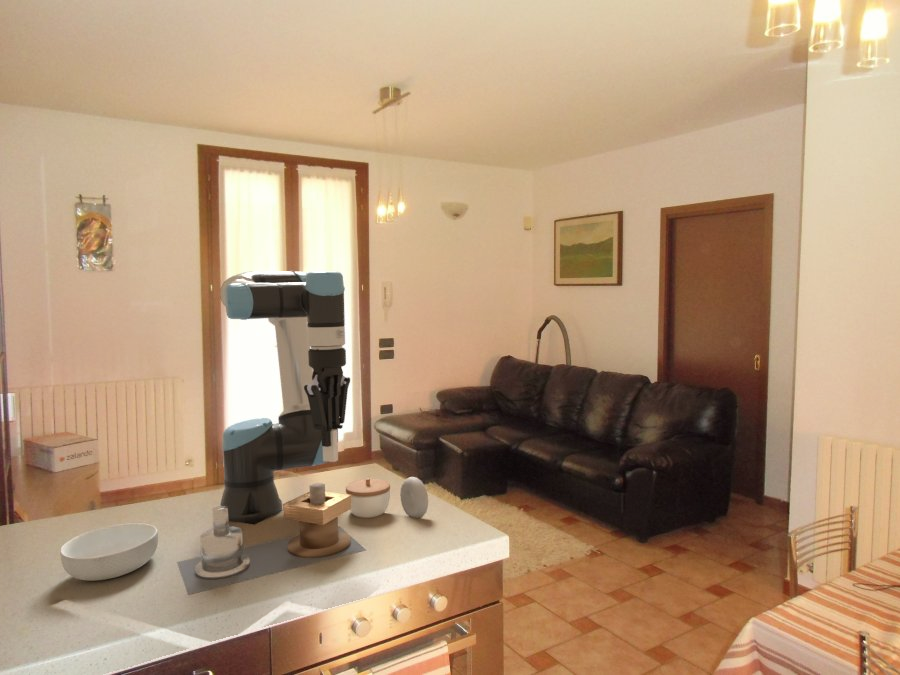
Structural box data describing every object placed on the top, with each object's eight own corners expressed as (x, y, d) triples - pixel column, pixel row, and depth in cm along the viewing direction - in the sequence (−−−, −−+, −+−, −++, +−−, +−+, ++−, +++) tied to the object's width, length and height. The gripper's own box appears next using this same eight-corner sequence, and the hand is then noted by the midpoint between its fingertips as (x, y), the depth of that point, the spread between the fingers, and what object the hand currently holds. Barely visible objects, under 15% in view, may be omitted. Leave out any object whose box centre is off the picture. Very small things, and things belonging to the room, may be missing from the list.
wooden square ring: (283, 518, 124) (282, 504, 124) (313, 503, 133) (313, 489, 133) (323, 524, 120) (322, 510, 120) (351, 508, 129) (351, 494, 129)
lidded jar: (337, 517, 146) (336, 479, 146) (371, 505, 154) (370, 469, 154) (365, 528, 139) (364, 488, 139) (400, 515, 147) (399, 477, 146)
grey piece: (431, 522, 142) (430, 480, 141) (419, 526, 140) (418, 483, 139) (410, 510, 150) (409, 471, 149) (398, 513, 148) (397, 474, 147)
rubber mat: (188, 601, 107) (188, 594, 107) (177, 567, 120) (177, 561, 120) (366, 555, 124) (366, 549, 124) (339, 530, 138) (338, 525, 138)
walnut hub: (274, 552, 124) (271, 491, 123) (313, 529, 136) (311, 473, 135) (326, 562, 119) (324, 498, 118) (362, 537, 130) (360, 479, 130)
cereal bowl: (97, 555, 128) (95, 522, 127) (175, 554, 127) (173, 521, 127) (40, 594, 111) (38, 557, 110) (129, 594, 110) (127, 556, 110)
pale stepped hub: (183, 574, 115) (180, 513, 114) (223, 553, 124) (220, 497, 123) (222, 583, 111) (219, 520, 110) (260, 561, 120) (258, 503, 119)
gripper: (322, 350, 116) (326, 471, 117) (360, 344, 127) (363, 454, 129) (291, 349, 119) (295, 467, 120) (330, 344, 130) (334, 451, 132)
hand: (330, 460), depth 125 cm, fingers closed
